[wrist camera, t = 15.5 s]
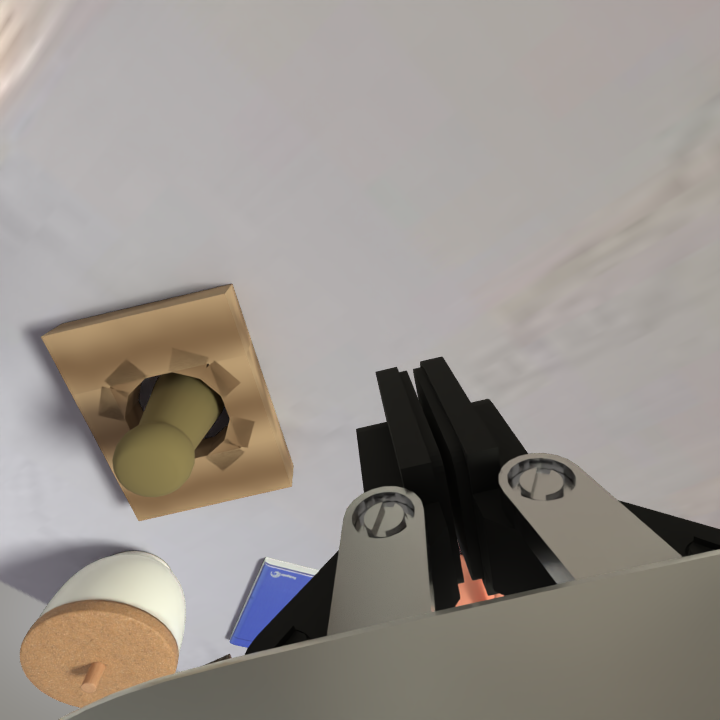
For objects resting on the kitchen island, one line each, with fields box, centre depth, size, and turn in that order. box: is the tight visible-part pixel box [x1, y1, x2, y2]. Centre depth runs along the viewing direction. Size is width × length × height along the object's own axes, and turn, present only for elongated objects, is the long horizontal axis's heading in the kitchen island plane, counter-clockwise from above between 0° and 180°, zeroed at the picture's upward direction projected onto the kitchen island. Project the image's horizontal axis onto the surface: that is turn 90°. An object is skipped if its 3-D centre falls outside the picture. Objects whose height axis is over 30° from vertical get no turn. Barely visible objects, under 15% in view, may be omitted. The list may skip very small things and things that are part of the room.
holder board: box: [41, 284, 294, 521], centre depth 39 cm, size 18×14×3 cm
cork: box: [112, 372, 224, 497], centre depth 36 cm, size 6×6×11 cm
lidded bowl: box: [20, 551, 186, 708], centre depth 43 cm, size 13×13×11 cm
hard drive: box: [230, 557, 319, 648], centre depth 51 cm, size 2×8×12 cm
